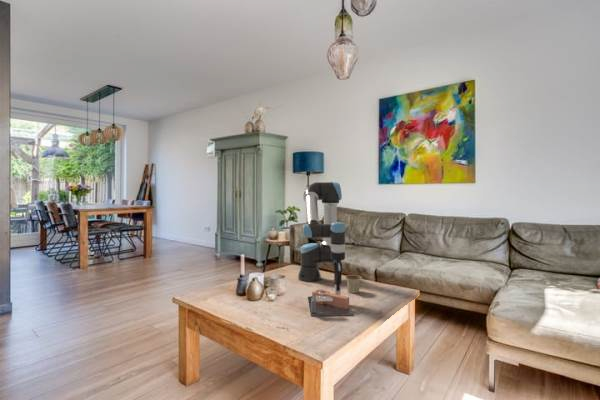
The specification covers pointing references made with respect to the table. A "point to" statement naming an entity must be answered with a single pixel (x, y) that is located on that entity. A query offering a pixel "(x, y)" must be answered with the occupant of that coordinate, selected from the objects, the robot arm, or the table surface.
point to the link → (337, 299)
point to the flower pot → (353, 283)
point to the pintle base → (326, 307)
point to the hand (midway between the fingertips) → (337, 295)
